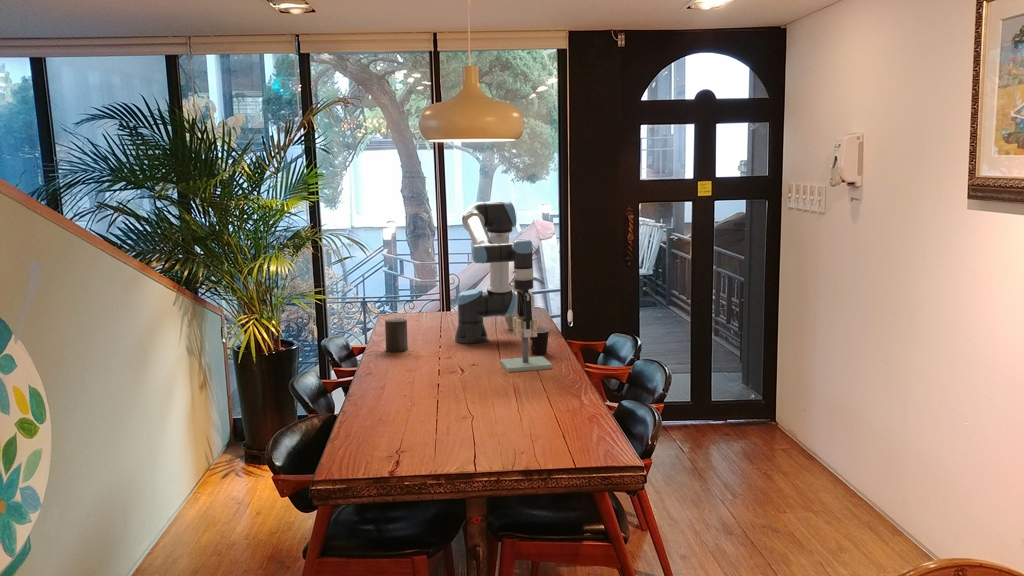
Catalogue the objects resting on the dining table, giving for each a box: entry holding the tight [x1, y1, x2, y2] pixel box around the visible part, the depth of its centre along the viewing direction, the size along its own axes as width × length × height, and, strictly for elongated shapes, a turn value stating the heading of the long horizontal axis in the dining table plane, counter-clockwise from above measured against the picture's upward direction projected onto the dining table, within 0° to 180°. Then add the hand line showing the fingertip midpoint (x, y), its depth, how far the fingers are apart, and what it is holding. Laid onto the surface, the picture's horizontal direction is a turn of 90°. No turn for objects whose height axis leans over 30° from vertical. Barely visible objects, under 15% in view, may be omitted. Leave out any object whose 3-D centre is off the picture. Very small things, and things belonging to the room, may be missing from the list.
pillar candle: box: [384, 316, 409, 353], centre depth 358 cm, size 10×10×15 cm
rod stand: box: [499, 337, 553, 373], centre depth 324 cm, size 15×18×14 cm
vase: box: [503, 281, 535, 331], centre depth 395 cm, size 16×16×23 cm
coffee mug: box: [529, 328, 550, 356], centre depth 346 cm, size 12×9×10 cm
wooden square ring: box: [512, 315, 538, 339], centre depth 323 cm, size 8×8×7 cm
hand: (525, 334), depth 323 cm, fingers closed on wooden square ring, 8 cm apart
